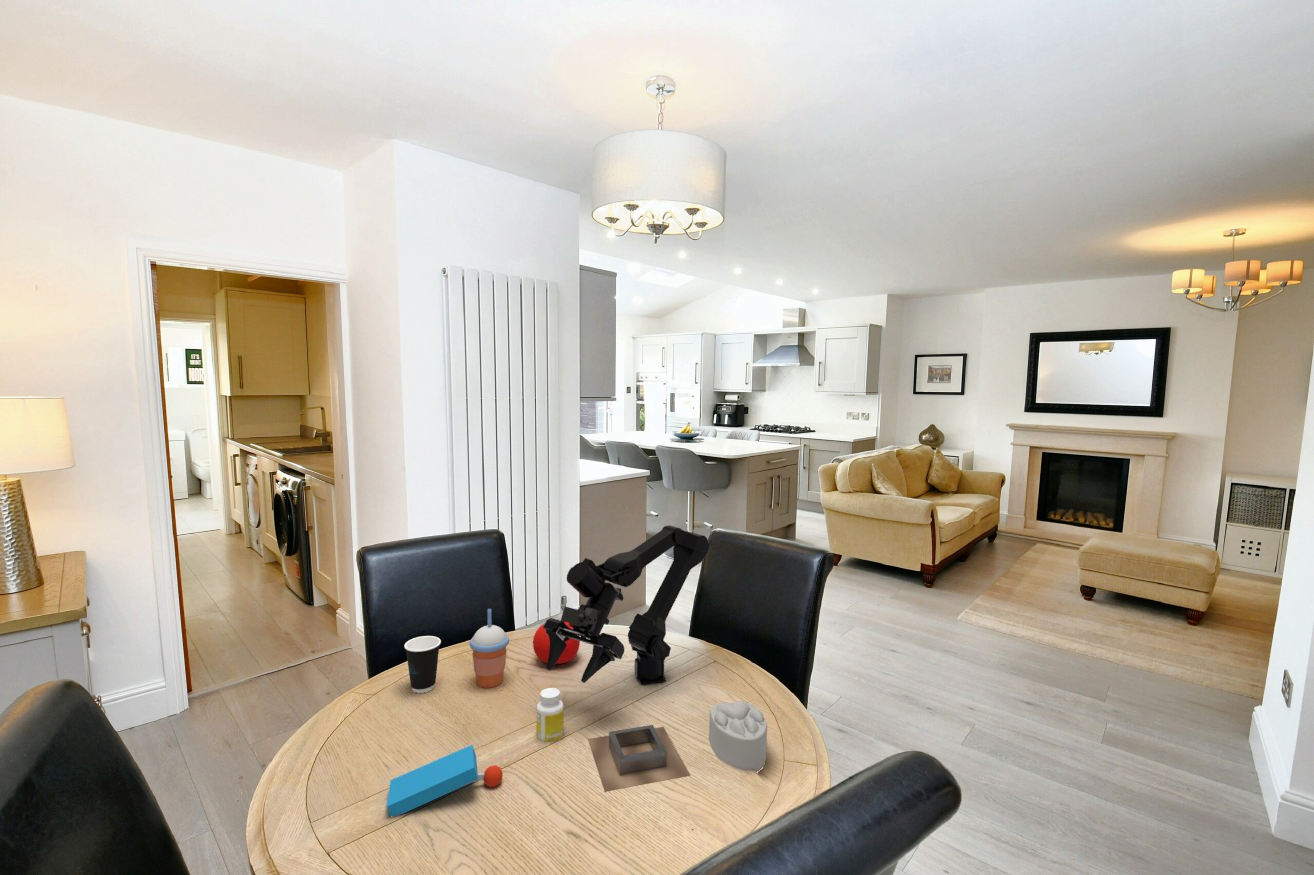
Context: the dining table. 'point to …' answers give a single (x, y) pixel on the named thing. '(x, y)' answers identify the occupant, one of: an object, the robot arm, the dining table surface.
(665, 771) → the walnut board
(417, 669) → the dixie cup
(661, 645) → the robot arm
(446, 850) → the dining table surface
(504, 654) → the cup with straw
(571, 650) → the tomato
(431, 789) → the lever
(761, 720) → the lumpy-topped squat cylinder
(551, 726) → the supplement bottle
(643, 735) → the metal collar
